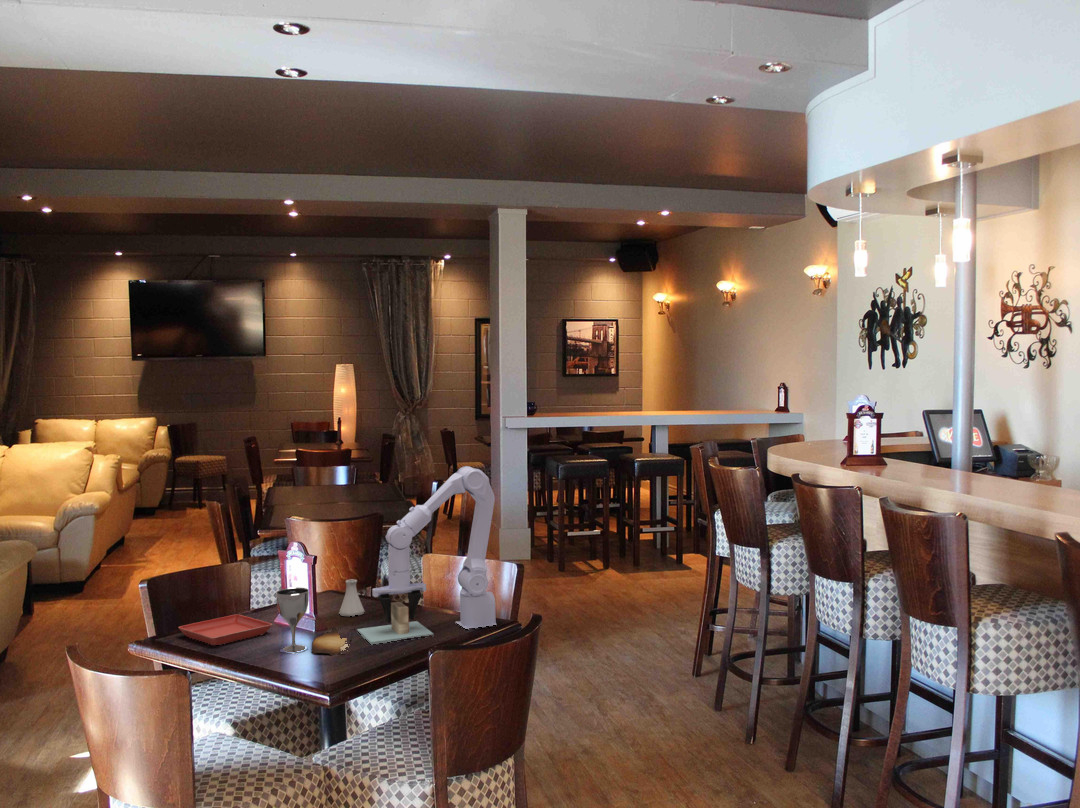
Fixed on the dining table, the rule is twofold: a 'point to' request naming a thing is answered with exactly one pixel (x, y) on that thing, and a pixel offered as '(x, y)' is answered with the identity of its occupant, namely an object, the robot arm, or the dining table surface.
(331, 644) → the parchment
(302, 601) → the wine glass
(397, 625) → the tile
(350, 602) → the flask
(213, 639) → the plant saucer
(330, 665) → the dining table surface
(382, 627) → the mat
